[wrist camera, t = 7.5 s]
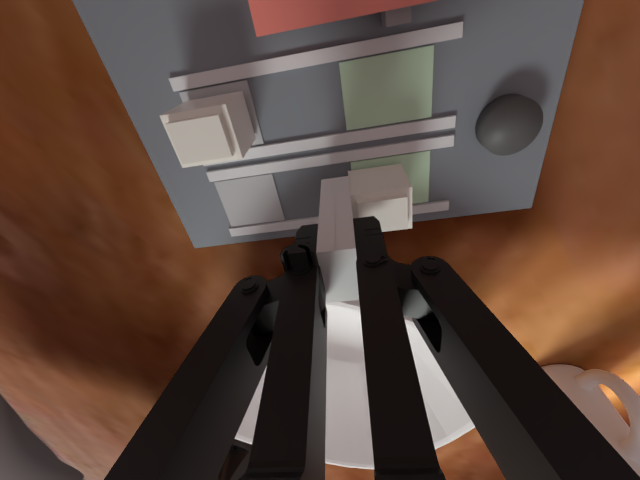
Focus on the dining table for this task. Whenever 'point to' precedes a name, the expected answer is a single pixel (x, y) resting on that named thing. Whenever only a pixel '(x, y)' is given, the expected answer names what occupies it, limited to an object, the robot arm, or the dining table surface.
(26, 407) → the dining table surface
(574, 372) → the mug
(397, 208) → the slider
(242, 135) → the slider
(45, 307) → the dining table surface
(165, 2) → the panel
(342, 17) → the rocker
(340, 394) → the bowl
